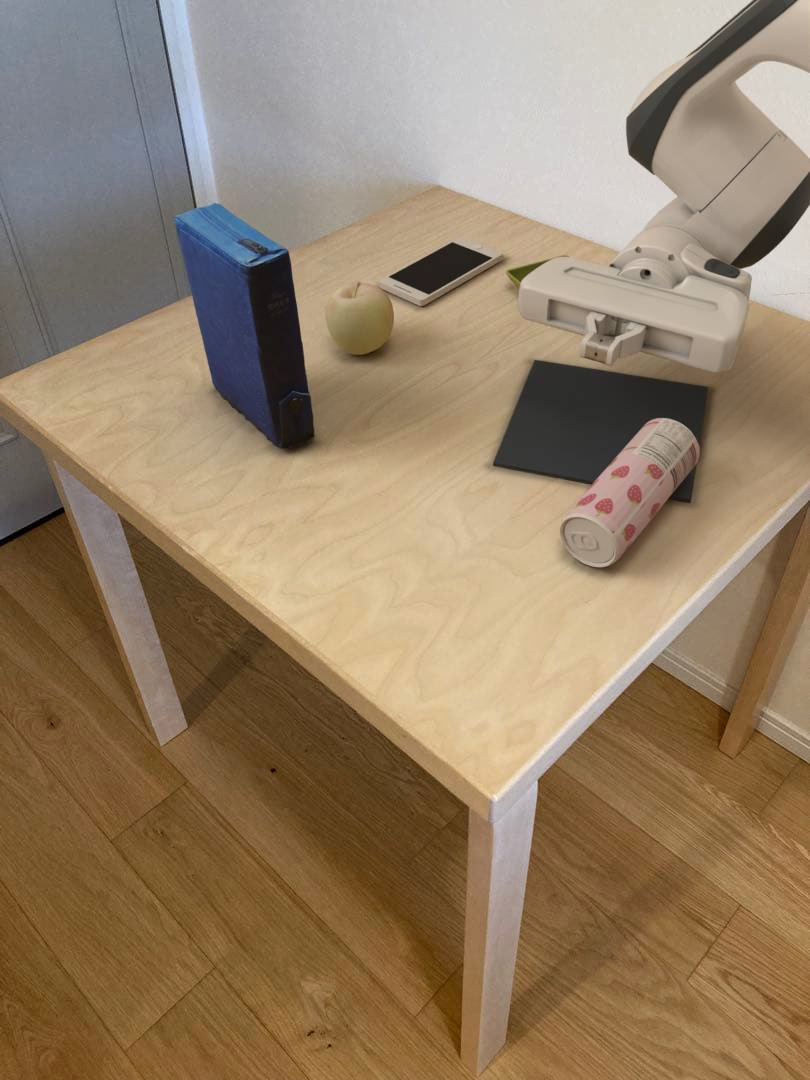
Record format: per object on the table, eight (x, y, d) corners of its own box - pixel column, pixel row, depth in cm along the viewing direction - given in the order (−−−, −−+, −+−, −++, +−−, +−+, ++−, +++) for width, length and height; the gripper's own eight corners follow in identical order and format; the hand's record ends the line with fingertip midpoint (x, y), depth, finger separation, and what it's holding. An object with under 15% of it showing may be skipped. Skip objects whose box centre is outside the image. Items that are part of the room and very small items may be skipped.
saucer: (503, 285, 108) (503, 269, 106) (564, 269, 110) (566, 253, 109) (540, 319, 102) (542, 302, 101) (604, 301, 104) (607, 285, 103)
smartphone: (504, 259, 112) (504, 251, 112) (421, 307, 104) (421, 300, 104) (460, 242, 116) (461, 235, 115) (377, 287, 108) (377, 280, 107)
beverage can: (630, 431, 82) (544, 527, 74) (673, 405, 77) (586, 504, 70) (669, 478, 83) (588, 577, 75) (714, 454, 78) (632, 558, 70)
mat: (707, 389, 91) (708, 386, 91) (690, 502, 79) (691, 499, 79) (534, 362, 96) (534, 359, 95) (493, 465, 84) (493, 462, 83)
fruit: (405, 355, 97) (403, 288, 92) (341, 370, 95) (335, 303, 90) (380, 322, 102) (377, 256, 97) (319, 335, 101) (312, 270, 95)
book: (325, 440, 87) (303, 246, 73) (278, 462, 85) (247, 266, 71) (250, 375, 95) (218, 190, 81) (206, 393, 93) (165, 206, 79)
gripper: (556, 228, 86) (488, 290, 78) (770, 278, 78) (721, 354, 70) (550, 287, 90) (486, 353, 82) (753, 341, 82) (704, 420, 74)
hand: (595, 354), depth 76 cm, fingers closed
